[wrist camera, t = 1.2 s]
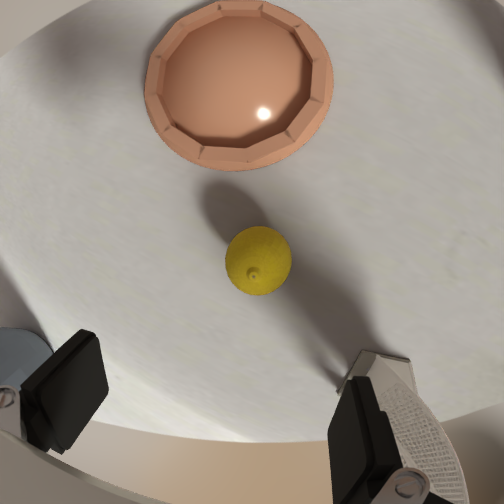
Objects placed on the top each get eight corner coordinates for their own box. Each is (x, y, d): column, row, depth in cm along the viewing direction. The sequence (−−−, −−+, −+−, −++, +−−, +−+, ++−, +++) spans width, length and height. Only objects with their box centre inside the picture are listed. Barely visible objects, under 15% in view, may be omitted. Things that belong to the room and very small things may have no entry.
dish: (335, 12, 22) (338, 1, 20) (323, 181, 27) (326, 182, 25) (162, 10, 23) (153, 1, 21) (140, 166, 28) (129, 167, 26)
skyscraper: (367, 339, 31) (440, 586, 4) (422, 352, 31) (516, 549, 4) (337, 393, 34) (359, 610, 7) (390, 401, 33) (439, 589, 7)
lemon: (223, 238, 30) (201, 264, 22) (271, 207, 28) (265, 224, 21) (254, 283, 31) (243, 322, 23) (301, 256, 29) (306, 288, 22)
